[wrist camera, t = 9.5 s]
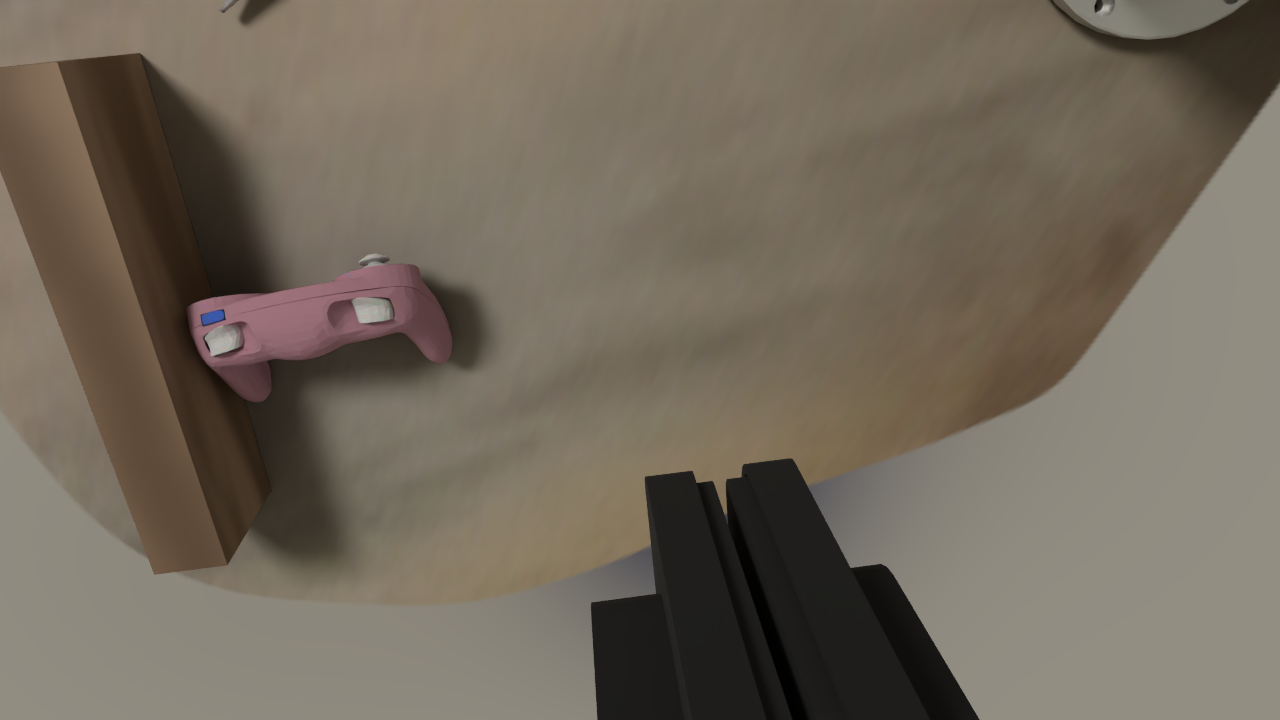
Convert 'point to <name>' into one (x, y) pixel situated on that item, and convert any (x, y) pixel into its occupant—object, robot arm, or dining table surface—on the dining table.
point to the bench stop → (130, 300)
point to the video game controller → (316, 322)
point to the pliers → (227, 5)
